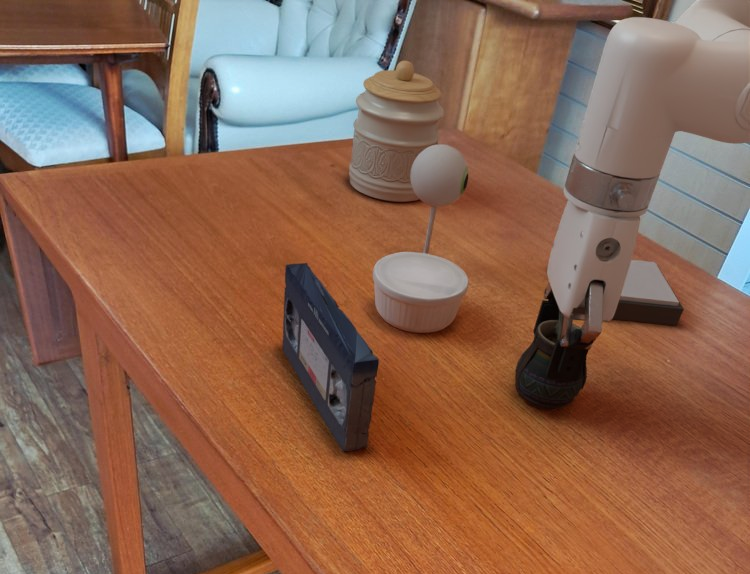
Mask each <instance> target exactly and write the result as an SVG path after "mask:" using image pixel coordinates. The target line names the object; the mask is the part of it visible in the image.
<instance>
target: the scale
mask: <svg viewBox="0 0 750 574" xmlns="http://www.w3.org/2000/svg"><path fill="white" fill-rule="evenodd" d="M658 265H659V264H658ZM658 265H657V263H656V262H655V261H649V260H648V261H647V260H638V259H632V260H631V263H630V267H629V270H628V273H627V277H626V280H625V283H624V286H623V290H622V293H621V296H620V299H619V302H618V305H617V308H616V311H615V314H614V317H613V318H612V320H619V321H629V322H637V323H647V324H654V325H655V324H656V325H667V326H674V327H675V326H678V325H679V322H680V320H681V317H682V315H683V312H684V310H685V309H684V306H683V305H682V303H681V302H680V300H679V298H678V297H677V295H676V293H675V292H674V290H673V288H672V287H671V285H670V283H669V281H668V280H667V279H666V277H665V275H664V274H663V272H662V270H661V269H660V267H659V266H658ZM573 313H579V314H585V308H584V307H577V308H573Z"/></svg>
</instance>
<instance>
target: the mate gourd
mask: <svg viewBox="0 0 750 574" xmlns="http://www.w3.org/2000/svg"><path fill="white" fill-rule="evenodd" d="M563 321H564V315H563V314H562V312H561V311H560V309H559V320H549V321H544V322H541V323H540V324H539V325H538V326H537V329H536V332H535V335H533V341H532V342H531V343H530V345H529V346H528V347H527V348H526V350H524V352H523V353H522V354H521V356H520V358H519V359H518V360H517V363H516V367H515V373H514V374H515V375H514V381H515V382H514V387H515V389H516V392H517V394H518V396H519V397H520V399H521V400H524V401H525V402H526V403H527V404H528V405H530V406H531V407H534V408H536V409H539V410H544V411H554V410H559V409H562V408H564V407H566V406H568V405H570V404H572V403H573V401H575V399H576V397H577V396H578V395H579V393H580V392H581V391H582V390H583V389H584V387H585V385H586V383H587V377H588V375H587V374H588V369H587V358H588V355H587V356H586V359H585V362H584V365H583V367H582V370H581V373H580V376H579V379H578V380H576V381H567V380H557V379H549V378H548V377H547V375H546V372H547V368H548V365H549V362H550V359H551V356H552V353H553V350H554V346H555V343H556V341H561V334H562V328H563ZM576 329H581V327H580V326H578V325H576V324H574V323H572V329H571V333H572V332H573V331H574V330H576Z"/></svg>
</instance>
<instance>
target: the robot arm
mask: <svg viewBox="0 0 750 574" xmlns="http://www.w3.org/2000/svg"><path fill="white" fill-rule="evenodd" d="M592 85H593V86H592V89H591V92H590V95H589V99H588V103H587V106H586V110H585V114H584V116H583V117H584V118H583V121H582V124H581V129H580V131H579V135H578V138H577V142H576V145H575V149H574V151H573V155H572V159H571V162H570V165H569V169H568V172H567V175H566V176H567V177H566V179H565V183H564V186H563V192H562V193H563V196H564V197H565V198H566V199H567V201H566V204H565V207H564V210H563V212H562V215H561V218H560V221H559V224H558V227H557V230H556V232H555V237H554V240H553V243H552V246H551V250H550V254H549V259H548V262H547V268H546V269H547V271H546V273H547V278H548V279H547V280H548V283H547V285H546V286H545V288H544V292H543V299H542V300H541V304H540V307H539V311H538V314H537V318H536V321H535V324H534V326H533V336H535V332H536V329H537V326H538V325H539V324H540V323H541V322H544V321H549V320H559V309H560V311H561V312H562V314H563V315H564V321H563V328H562V334H561V341H556V343H555V346H554V350H553V353H552V356H551V359H550V362H549V365H548V368H547V372H546V375H547V377H548V378H549V379H557V380H567V381H576V380H578V379H579V376H580V373H581V370H582V367H583V365H584V362H585V359H587V358H586V356H587V357H588V353H589V350H591V349H592V347H593V344H594V342H595V341H596V340H597V338H598V337H599V336H600V335H601V334H602V330H603V322H604V323H609V322H611V321H612V320H613V319H612V318H613V317H614V314H615V311H616V308H617V305H618V302H619V299H620V296H621V293H622V290H623V286H624V283H625V280H626V277H627V273H628V270H629V267H630V263H631V260H633V256H634V252H635V248H636V245H637V239H638V235H639V230H640V224H641V216H643V215H645V214H646V213H647V211H648V209H649V206H650V203H651V200H652V197H653V194H654V192H655V189H656V186H657V183H658V180H659V178H660V176H661V172H662V169H663V166H664V164H665V161H666V158H667V156H668V152H669V150H670V148H671V145H672V143H673V139H674V137H675V134H676V133H677V132H683V133H688V134H691V135H696V136H699V137H702V138H706V139H709V140H713V141H716V142H721V143H725V144H733V145H734V144H735V145H737V144H738V145H739V144H748V143H750V0H695V1H694V2H693V3H691V5H690V6H689V7H687V9H685V11H684V12H683V13H682V14H681V15H680V16H679V17H678V19H677V20H676V21H675V22H672V21H668V20H665V19H664V20H663V19H660V18H651V17H645V16H644V17H643V16H642V17H641V16H632V17H627V18H624V19H621V20H619V21H618V22H616V24H615V25H614V26H613V27H612V28H611V30H610V31H609V32H608V34H607V37H606V40H605V43H604V46H603V50H602V53H601V57H600V61H599V64H598V67H597V70H596V74H595V78H594V82H593V84H592ZM577 307H584V308H585V314H579V313H573V308H577ZM574 321H583V324H582V325H581V327H580V328H581V329H576V330H574V331H573V332H572V333H571V329H572V324H574Z"/></svg>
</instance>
